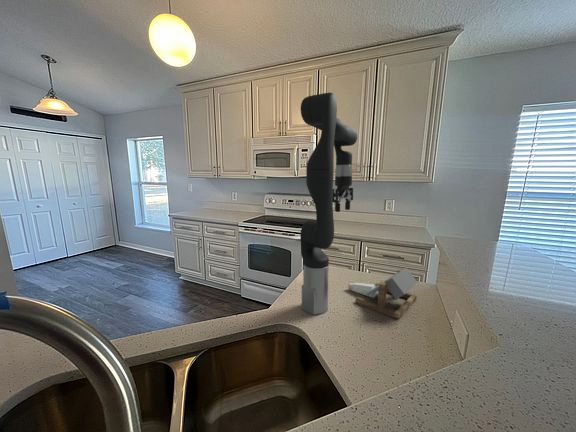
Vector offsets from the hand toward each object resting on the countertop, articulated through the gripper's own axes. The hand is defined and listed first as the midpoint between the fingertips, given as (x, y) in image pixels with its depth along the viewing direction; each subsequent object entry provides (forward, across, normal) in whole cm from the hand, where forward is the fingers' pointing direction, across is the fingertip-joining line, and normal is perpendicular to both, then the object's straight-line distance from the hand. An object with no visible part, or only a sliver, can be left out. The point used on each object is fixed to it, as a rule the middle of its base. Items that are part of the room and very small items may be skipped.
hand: (342, 210), depth 114 cm
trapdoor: (+29, +7, +29) cm, 42 cm away
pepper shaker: (+30, +8, +20) cm, 37 cm away
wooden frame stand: (+33, +7, +25) cm, 42 cm away
